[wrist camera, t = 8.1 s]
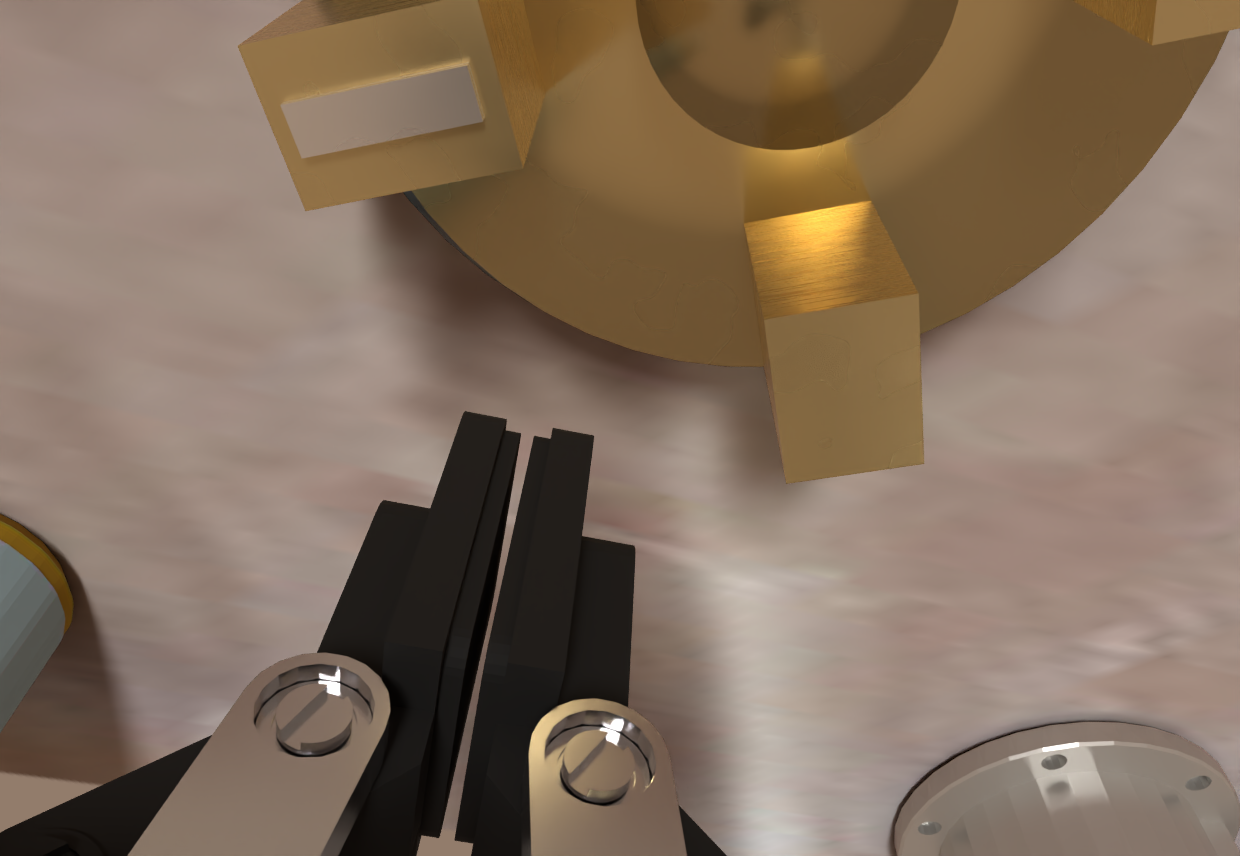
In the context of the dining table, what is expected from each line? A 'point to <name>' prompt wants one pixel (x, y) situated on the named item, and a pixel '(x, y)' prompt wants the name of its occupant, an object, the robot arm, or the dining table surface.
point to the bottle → (28, 612)
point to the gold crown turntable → (745, 165)
